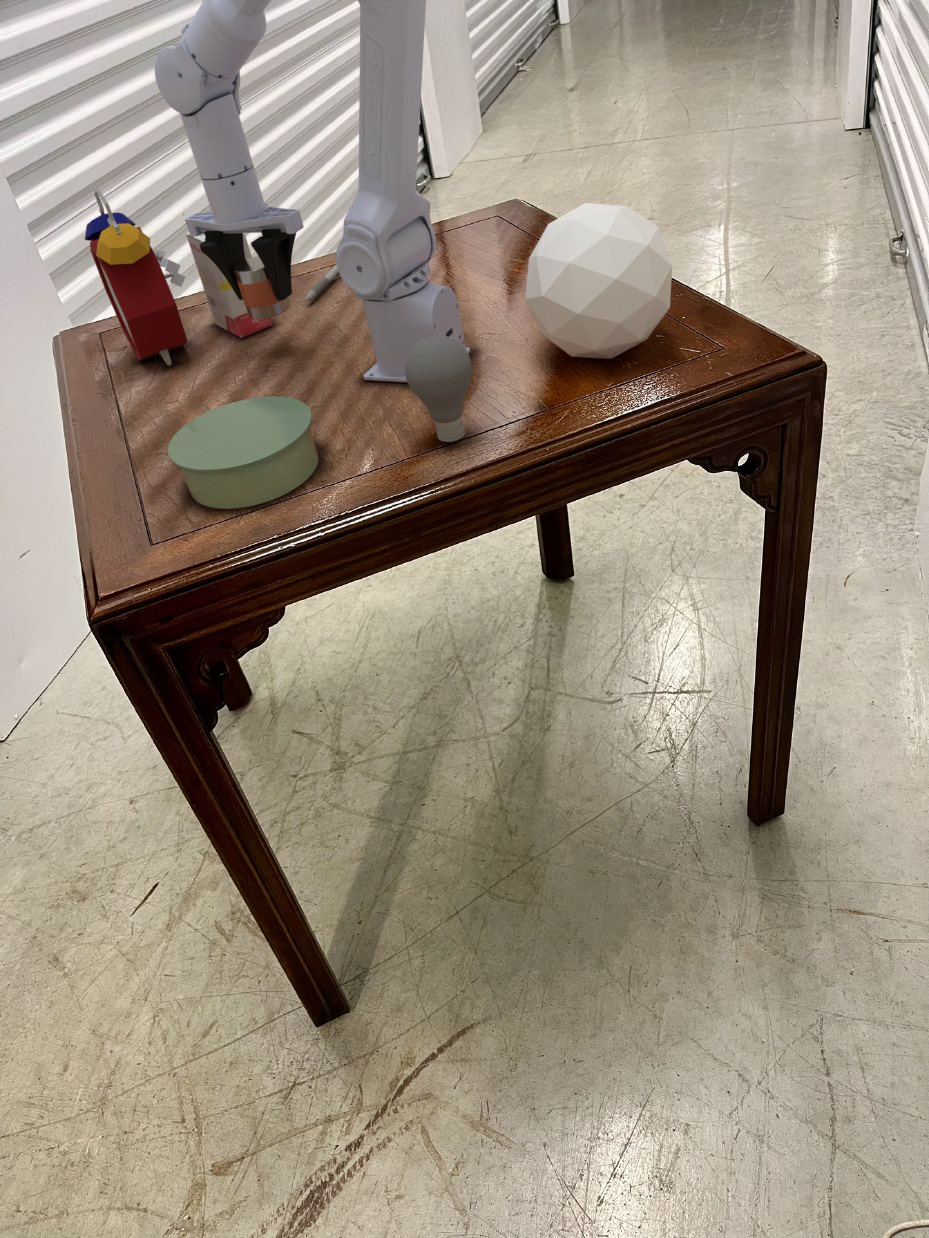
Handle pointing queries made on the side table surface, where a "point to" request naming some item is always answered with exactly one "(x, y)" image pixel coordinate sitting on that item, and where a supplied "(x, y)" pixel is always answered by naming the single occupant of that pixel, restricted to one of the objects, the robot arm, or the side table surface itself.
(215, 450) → the pale green flat cylinder
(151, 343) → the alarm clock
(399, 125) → the robot arm
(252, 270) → the can
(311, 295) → the pen
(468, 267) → the side table surface
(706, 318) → the side table surface
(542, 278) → the geometric shape
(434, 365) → the light bulb
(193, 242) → the ink box
